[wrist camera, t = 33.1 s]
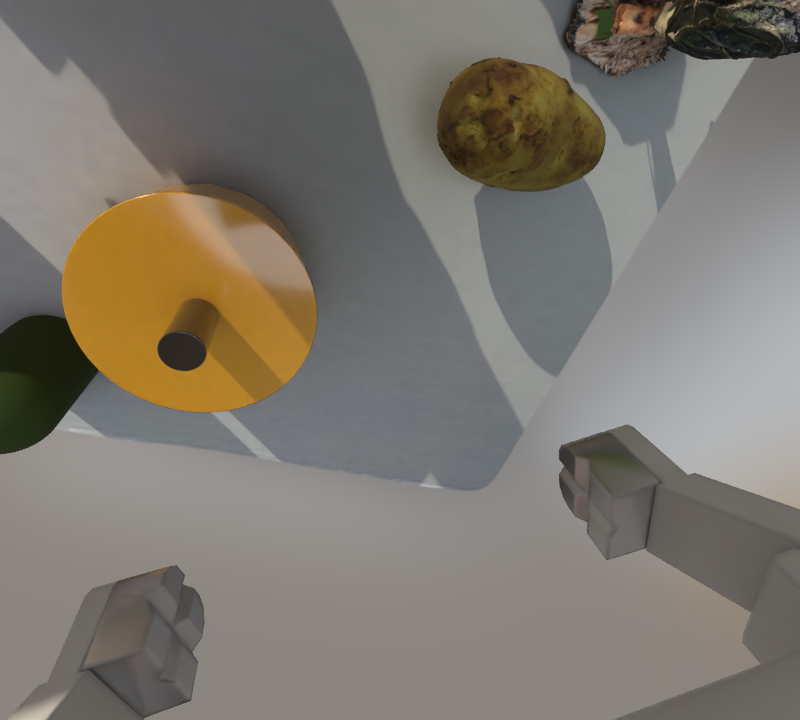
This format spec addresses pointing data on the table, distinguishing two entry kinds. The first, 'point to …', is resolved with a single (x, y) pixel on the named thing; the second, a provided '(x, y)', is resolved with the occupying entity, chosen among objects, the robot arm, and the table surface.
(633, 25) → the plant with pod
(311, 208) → the table surface
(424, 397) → the table surface
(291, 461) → the table surface
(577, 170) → the potato
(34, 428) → the avocado
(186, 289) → the lid
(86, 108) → the table surface
